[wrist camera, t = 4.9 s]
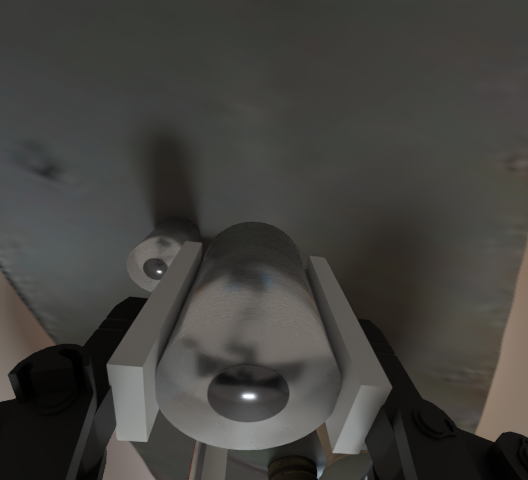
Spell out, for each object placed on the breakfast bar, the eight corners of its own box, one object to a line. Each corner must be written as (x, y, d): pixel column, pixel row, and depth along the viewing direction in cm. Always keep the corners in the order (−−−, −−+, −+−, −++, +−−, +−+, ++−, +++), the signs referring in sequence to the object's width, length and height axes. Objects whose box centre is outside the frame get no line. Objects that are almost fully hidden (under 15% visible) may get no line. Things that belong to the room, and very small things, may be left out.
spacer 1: (155, 214, 28) (124, 240, 21) (201, 220, 28) (185, 247, 22) (156, 255, 30) (128, 289, 23) (199, 260, 30) (183, 295, 24)
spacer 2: (207, 215, 12) (149, 311, 6) (309, 228, 13) (365, 332, 6) (202, 301, 14) (155, 447, 8) (291, 310, 14) (318, 456, 8)
